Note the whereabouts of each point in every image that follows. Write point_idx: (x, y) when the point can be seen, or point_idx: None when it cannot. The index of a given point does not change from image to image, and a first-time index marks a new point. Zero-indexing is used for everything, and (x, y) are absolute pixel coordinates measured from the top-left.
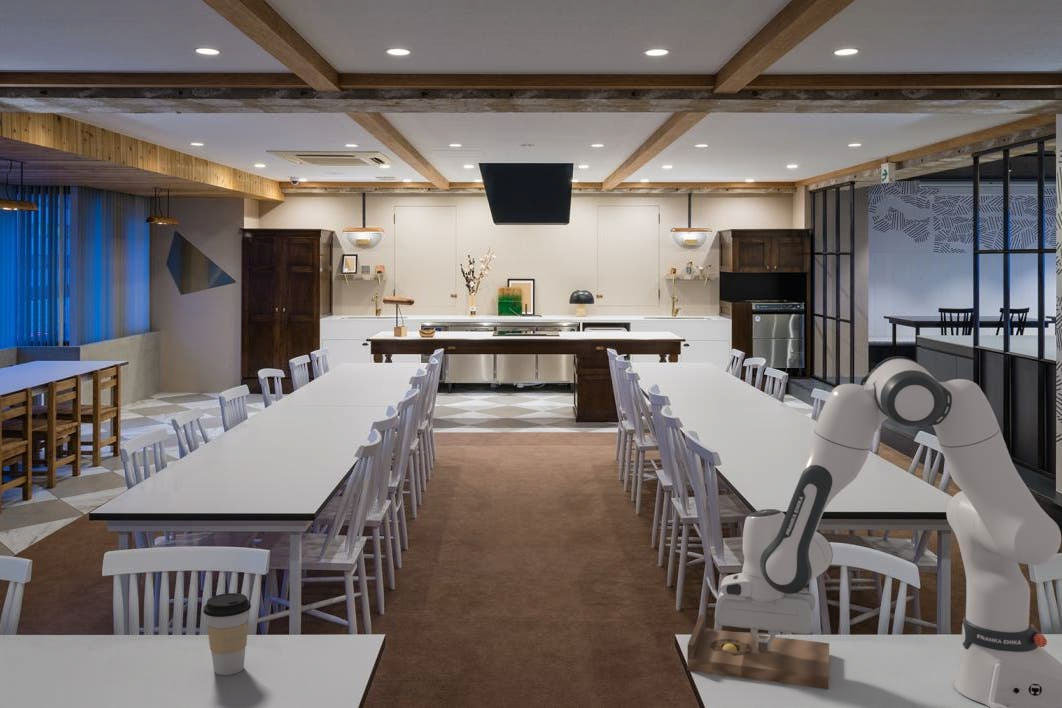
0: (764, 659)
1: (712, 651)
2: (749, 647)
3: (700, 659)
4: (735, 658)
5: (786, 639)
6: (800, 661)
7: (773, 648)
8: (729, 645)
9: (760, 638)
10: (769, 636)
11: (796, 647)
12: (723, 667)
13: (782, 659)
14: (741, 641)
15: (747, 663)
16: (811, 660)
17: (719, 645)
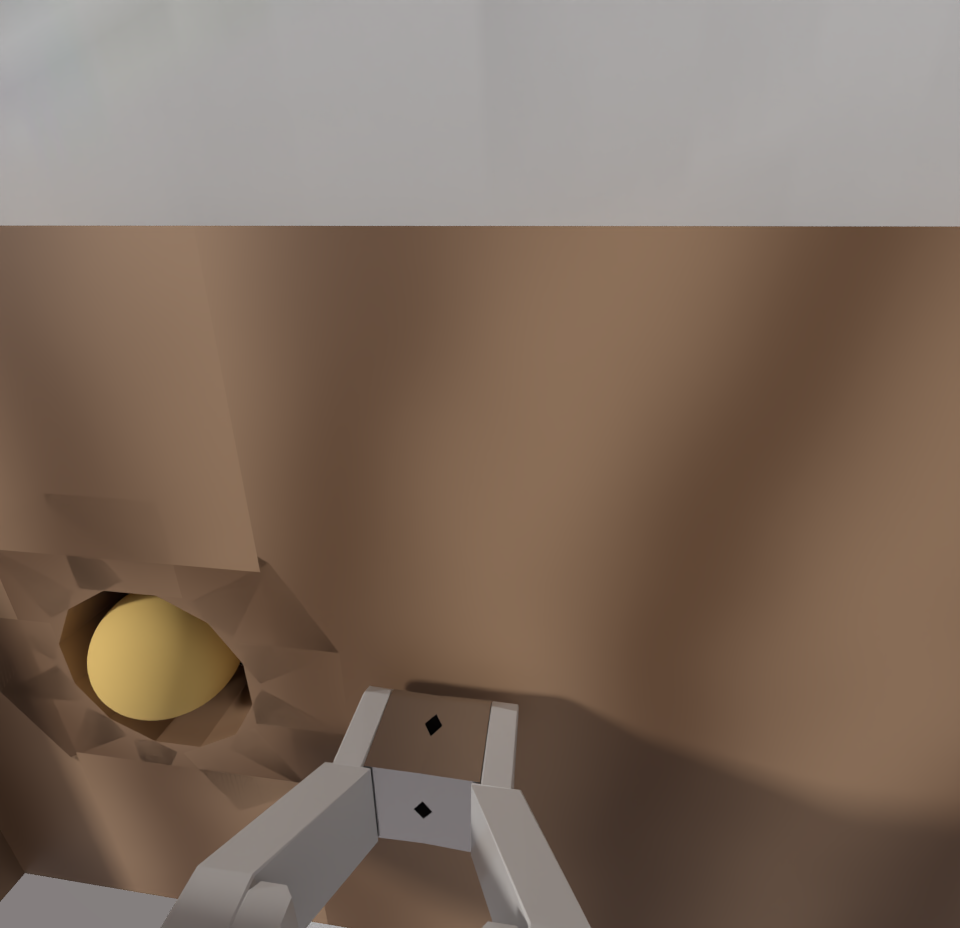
0: None
1: (64, 763)
2: (309, 651)
3: (62, 872)
4: None
5: (766, 290)
6: (808, 853)
7: (554, 630)
8: (129, 714)
9: (375, 366)
10: (493, 863)
11: (859, 553)
12: None
13: (634, 833)
14: (191, 523)
15: (360, 900)
16: (940, 829)
17: (52, 655)
